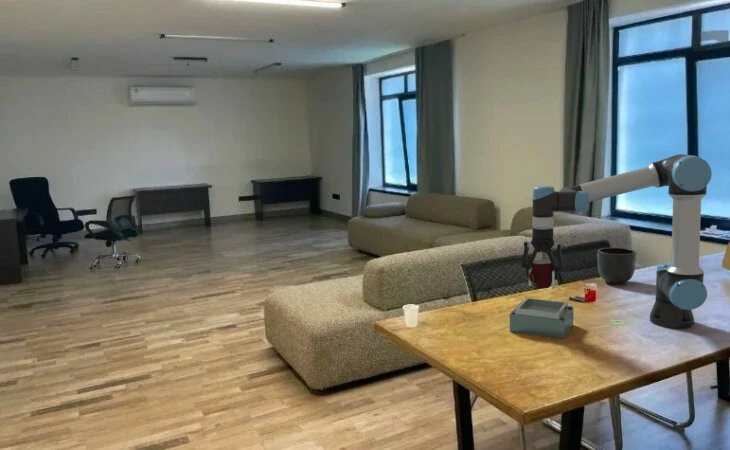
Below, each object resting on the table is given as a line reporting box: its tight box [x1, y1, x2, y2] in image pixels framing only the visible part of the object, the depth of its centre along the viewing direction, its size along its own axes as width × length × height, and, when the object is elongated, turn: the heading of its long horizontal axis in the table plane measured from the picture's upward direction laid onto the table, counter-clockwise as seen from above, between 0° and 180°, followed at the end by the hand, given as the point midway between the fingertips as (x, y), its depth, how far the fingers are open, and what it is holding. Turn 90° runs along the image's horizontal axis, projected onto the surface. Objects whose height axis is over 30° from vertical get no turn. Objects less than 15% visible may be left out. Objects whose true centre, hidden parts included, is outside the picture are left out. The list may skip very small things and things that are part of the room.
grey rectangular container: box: [509, 297, 575, 340], centre depth 218 cm, size 20×17×9 cm
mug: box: [528, 259, 554, 289], centre depth 215 cm, size 10×8×10 cm
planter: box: [596, 247, 637, 286], centre depth 275 cm, size 17×17×16 cm
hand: (542, 286), depth 216 cm, fingers closed on mug, 8 cm apart
